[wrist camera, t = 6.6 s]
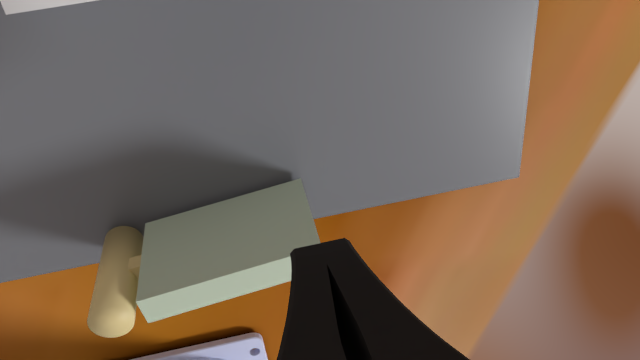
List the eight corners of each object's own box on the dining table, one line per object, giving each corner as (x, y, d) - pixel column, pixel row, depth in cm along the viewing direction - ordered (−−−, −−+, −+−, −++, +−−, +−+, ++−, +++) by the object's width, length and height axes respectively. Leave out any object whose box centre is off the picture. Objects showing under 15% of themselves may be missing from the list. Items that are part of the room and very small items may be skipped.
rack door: (113, 259, 21) (99, 342, 18) (98, 232, 20) (79, 313, 17) (307, 202, 21) (329, 274, 18) (299, 173, 21) (320, 242, 17)
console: (502, 159, 24) (528, 187, 23) (-15, 262, 22) (-35, 303, 20) (546, -323, 16) (594, -343, 14) (-306, -231, 13) (-389, -240, 12)
